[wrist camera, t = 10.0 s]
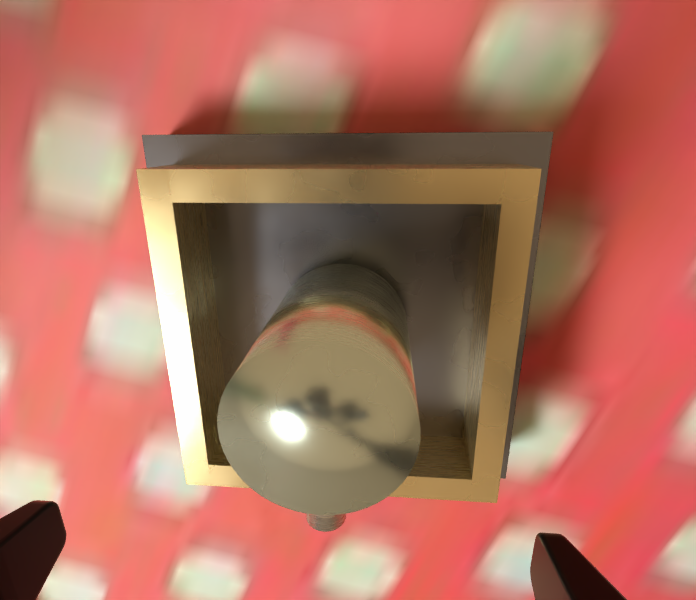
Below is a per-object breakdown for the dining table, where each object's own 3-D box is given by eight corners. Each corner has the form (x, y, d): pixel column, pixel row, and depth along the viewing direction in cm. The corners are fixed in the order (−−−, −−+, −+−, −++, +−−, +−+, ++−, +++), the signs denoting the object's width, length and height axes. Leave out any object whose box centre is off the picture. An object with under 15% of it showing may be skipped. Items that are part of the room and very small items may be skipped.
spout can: (410, 265, 17) (427, 345, 10) (401, 416, 19) (411, 564, 12) (276, 261, 17) (208, 336, 10) (283, 410, 19) (230, 551, 13)
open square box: (535, 132, 17) (584, 130, 12) (495, 448, 21) (521, 525, 17) (168, 135, 18) (98, 134, 14) (208, 434, 22) (165, 502, 18)
